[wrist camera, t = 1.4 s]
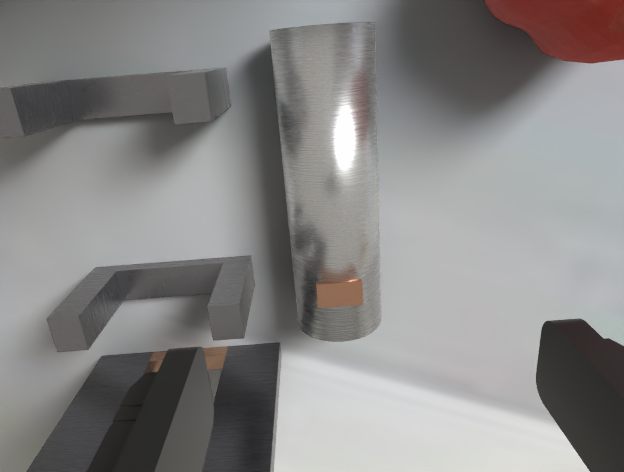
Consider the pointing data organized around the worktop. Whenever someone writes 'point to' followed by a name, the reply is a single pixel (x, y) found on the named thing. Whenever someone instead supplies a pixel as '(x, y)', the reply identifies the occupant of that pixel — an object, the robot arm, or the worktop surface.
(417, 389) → the worktop surface
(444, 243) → the worktop surface
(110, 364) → the frame
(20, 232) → the worktop surface
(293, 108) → the tube
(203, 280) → the grey u-shaped bracket
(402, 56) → the worktop surface
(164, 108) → the grey metal blocks
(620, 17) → the vegetable
